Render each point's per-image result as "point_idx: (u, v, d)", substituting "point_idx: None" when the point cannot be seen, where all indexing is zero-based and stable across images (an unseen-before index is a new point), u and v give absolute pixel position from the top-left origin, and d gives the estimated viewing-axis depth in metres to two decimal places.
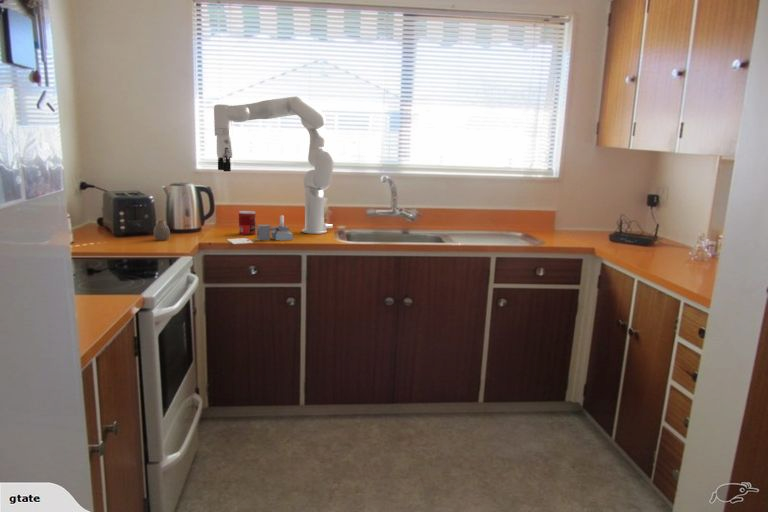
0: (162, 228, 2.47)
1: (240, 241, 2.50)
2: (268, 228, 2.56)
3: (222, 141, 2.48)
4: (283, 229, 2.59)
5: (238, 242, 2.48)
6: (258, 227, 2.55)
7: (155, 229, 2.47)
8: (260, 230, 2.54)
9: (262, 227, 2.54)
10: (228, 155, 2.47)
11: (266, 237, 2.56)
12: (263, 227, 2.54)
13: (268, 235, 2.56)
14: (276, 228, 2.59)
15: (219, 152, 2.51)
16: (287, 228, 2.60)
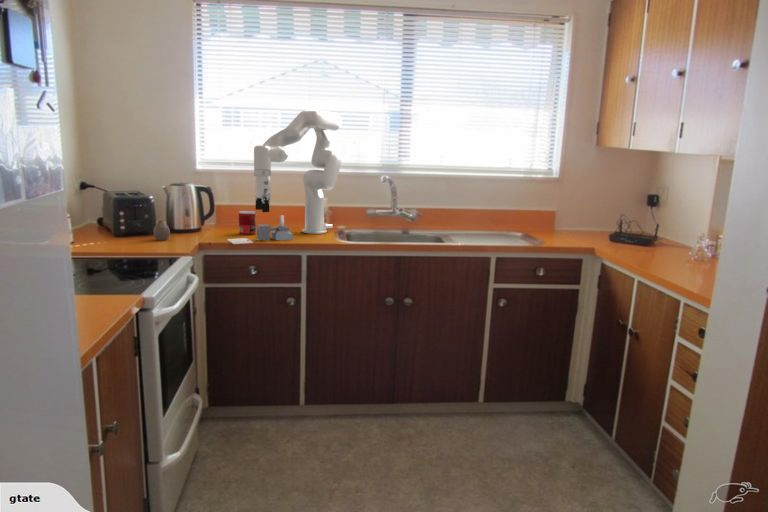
0: (162, 228, 2.47)
1: (240, 241, 2.50)
2: (268, 228, 2.56)
3: (262, 182, 2.48)
4: (283, 229, 2.59)
5: (238, 242, 2.48)
6: (258, 227, 2.55)
7: (155, 229, 2.47)
8: (260, 230, 2.54)
9: (262, 227, 2.54)
10: (268, 196, 2.46)
11: (266, 237, 2.56)
12: (263, 227, 2.54)
13: (268, 235, 2.56)
14: (276, 228, 2.59)
15: (258, 193, 2.51)
16: (287, 228, 2.60)
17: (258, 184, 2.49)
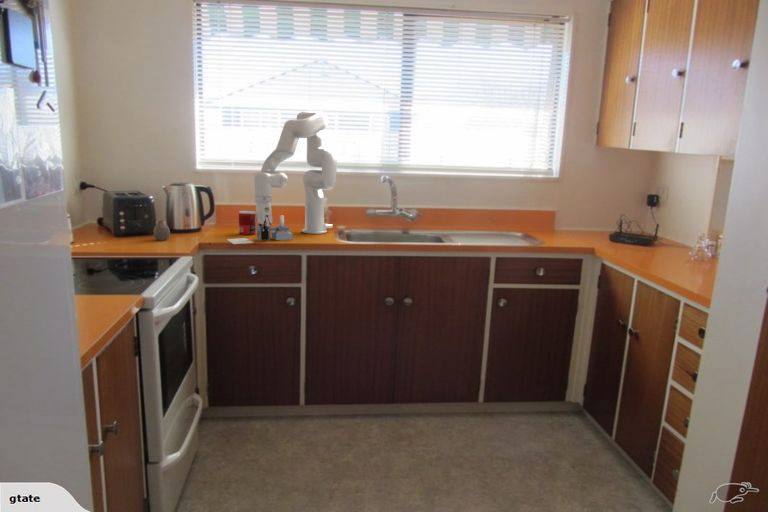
0: (162, 228, 2.47)
1: (240, 241, 2.50)
2: None
3: (263, 208, 2.50)
4: (283, 229, 2.59)
5: (238, 242, 2.48)
6: (258, 227, 2.55)
7: (155, 229, 2.47)
8: (260, 230, 2.54)
9: None
10: (267, 227, 2.51)
11: None
12: None
13: None
14: (276, 228, 2.59)
15: (259, 219, 2.53)
16: (287, 228, 2.60)
17: (259, 210, 2.52)
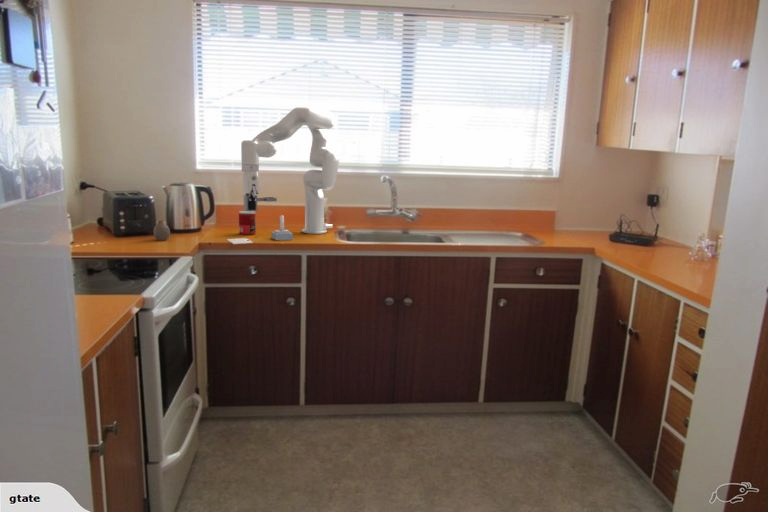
0: (162, 228, 2.47)
1: (240, 241, 2.50)
2: None
3: (250, 177, 2.44)
4: (271, 200, 2.53)
5: (238, 242, 2.48)
6: (245, 197, 2.49)
7: (155, 229, 2.47)
8: (247, 200, 2.48)
9: None
10: (254, 196, 2.45)
11: None
12: None
13: None
14: (263, 198, 2.53)
15: (246, 188, 2.47)
16: (275, 199, 2.54)
17: (246, 179, 2.46)
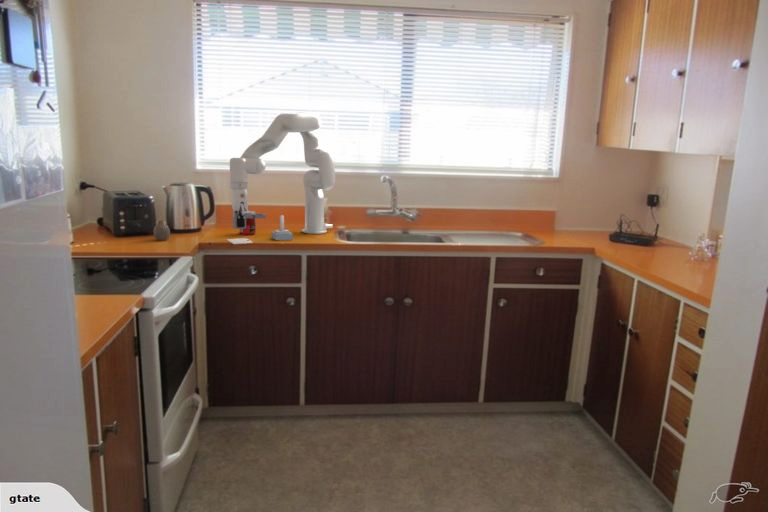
0: (162, 228, 2.47)
1: (240, 241, 2.50)
2: None
3: (238, 195, 2.43)
4: (260, 216, 2.52)
5: (238, 242, 2.48)
6: (234, 214, 2.48)
7: (155, 229, 2.47)
8: (235, 217, 2.47)
9: None
10: (243, 213, 2.44)
11: None
12: None
13: None
14: (252, 215, 2.52)
15: (234, 206, 2.46)
16: (264, 216, 2.53)
17: (234, 197, 2.45)
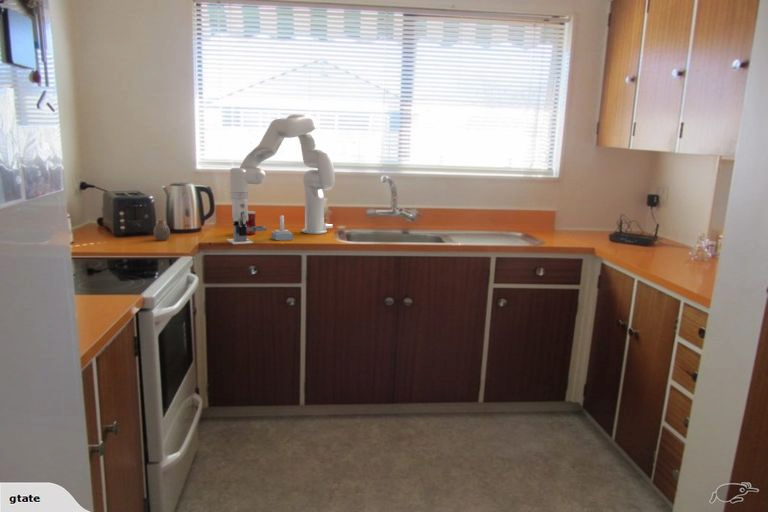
0: (162, 228, 2.47)
1: None
2: None
3: (238, 205, 2.44)
4: (260, 229, 2.53)
5: (238, 242, 2.48)
6: (234, 227, 2.49)
7: (155, 229, 2.47)
8: (236, 231, 2.48)
9: (238, 227, 2.49)
10: (244, 220, 2.43)
11: (242, 237, 2.50)
12: None
13: None
14: (253, 228, 2.53)
15: (235, 216, 2.47)
16: (264, 228, 2.54)
17: (235, 207, 2.46)
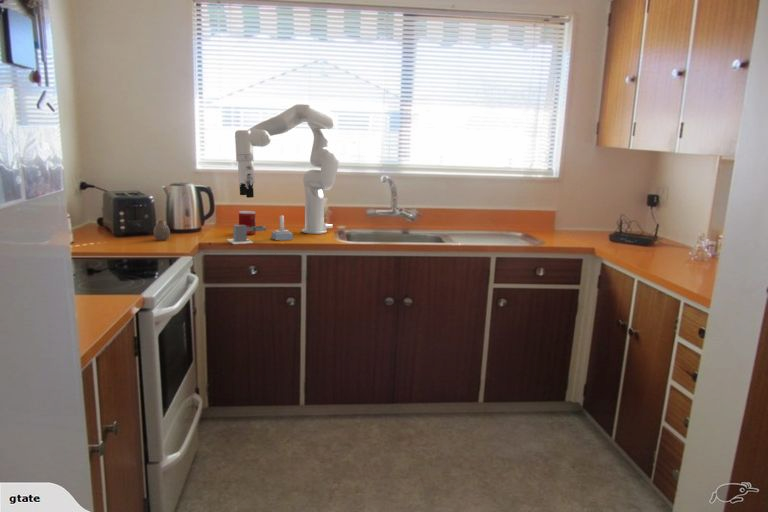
0: (162, 228, 2.47)
1: None
2: (244, 228, 2.50)
3: (245, 167, 2.45)
4: (260, 229, 2.53)
5: (238, 242, 2.48)
6: (234, 227, 2.49)
7: (155, 229, 2.47)
8: (236, 231, 2.48)
9: (238, 227, 2.49)
10: (251, 181, 2.44)
11: (242, 237, 2.50)
12: (239, 227, 2.49)
13: (245, 235, 2.51)
14: (253, 228, 2.53)
15: (241, 178, 2.49)
16: (264, 228, 2.54)
17: (241, 169, 2.47)
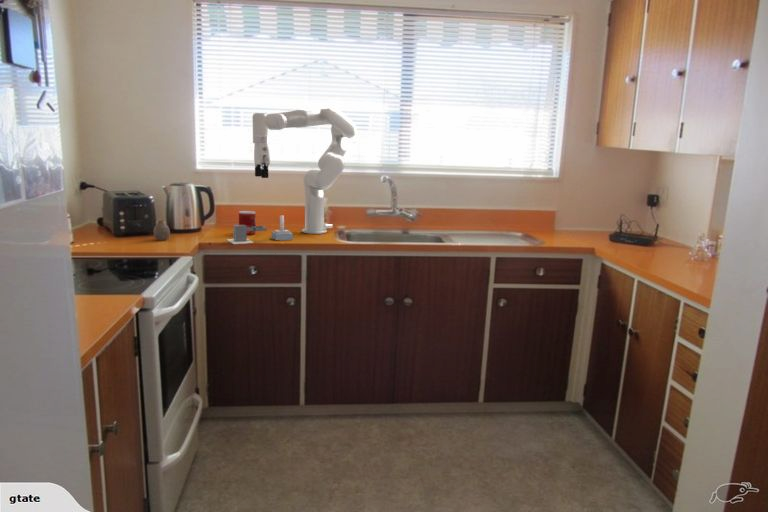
0: (162, 228, 2.47)
1: None
2: (244, 228, 2.50)
3: (261, 148, 2.56)
4: (260, 229, 2.53)
5: (238, 242, 2.48)
6: (234, 227, 2.49)
7: (155, 229, 2.47)
8: (236, 231, 2.48)
9: (238, 227, 2.49)
10: (266, 162, 2.54)
11: (242, 237, 2.50)
12: (239, 227, 2.49)
13: (245, 235, 2.51)
14: (253, 228, 2.53)
15: (257, 159, 2.59)
16: (264, 228, 2.54)
17: (257, 151, 2.57)
